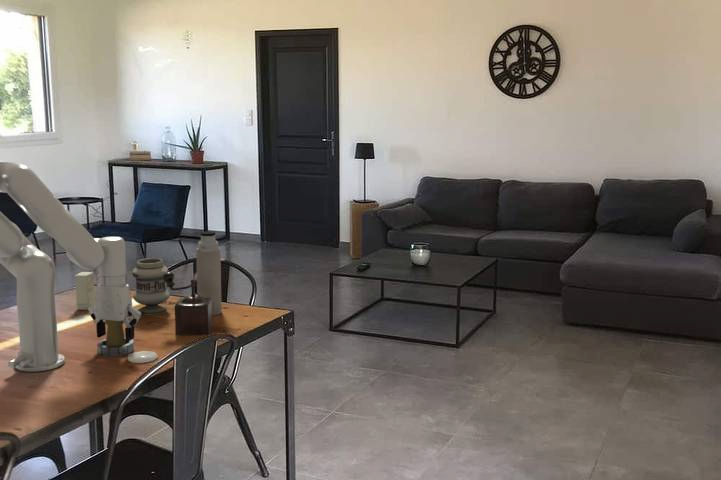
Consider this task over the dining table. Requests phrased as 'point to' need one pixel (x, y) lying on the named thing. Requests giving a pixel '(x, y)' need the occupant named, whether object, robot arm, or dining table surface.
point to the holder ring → (115, 348)
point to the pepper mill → (190, 310)
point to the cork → (115, 333)
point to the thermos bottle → (209, 270)
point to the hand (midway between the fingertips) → (115, 337)
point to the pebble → (142, 357)
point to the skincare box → (84, 290)
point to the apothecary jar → (150, 286)
